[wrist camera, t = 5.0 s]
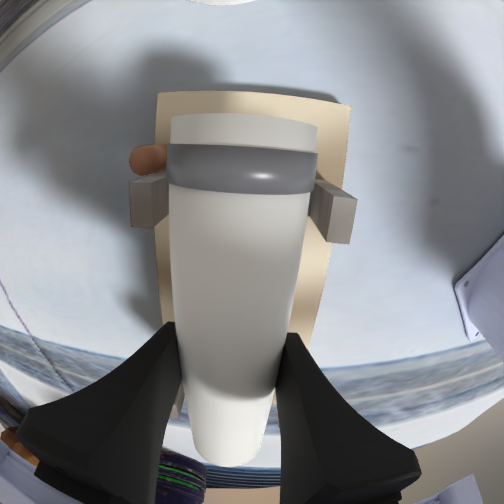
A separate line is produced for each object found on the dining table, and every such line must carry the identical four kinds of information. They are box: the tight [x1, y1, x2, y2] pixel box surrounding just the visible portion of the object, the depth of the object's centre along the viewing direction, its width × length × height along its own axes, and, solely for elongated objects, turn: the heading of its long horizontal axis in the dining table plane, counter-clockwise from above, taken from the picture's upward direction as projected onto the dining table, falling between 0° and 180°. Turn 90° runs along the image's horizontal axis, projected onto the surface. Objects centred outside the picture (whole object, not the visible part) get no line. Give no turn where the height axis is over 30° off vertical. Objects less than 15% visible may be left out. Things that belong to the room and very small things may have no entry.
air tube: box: [166, 113, 318, 467], centre depth 10 cm, size 16×4×4 cm, turn 175°
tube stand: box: [129, 91, 358, 428], centre depth 13 cm, size 20×9×6 cm, turn 175°
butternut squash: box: [0, 426, 40, 504], centre depth 20 cm, size 14×13×25 cm
